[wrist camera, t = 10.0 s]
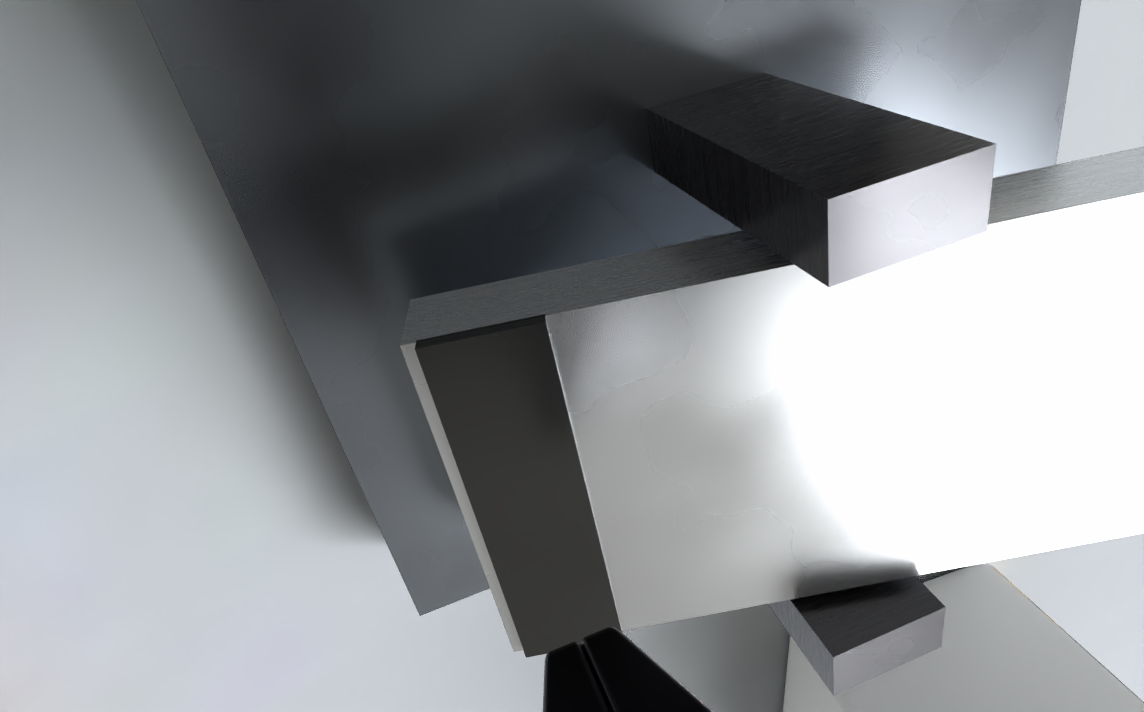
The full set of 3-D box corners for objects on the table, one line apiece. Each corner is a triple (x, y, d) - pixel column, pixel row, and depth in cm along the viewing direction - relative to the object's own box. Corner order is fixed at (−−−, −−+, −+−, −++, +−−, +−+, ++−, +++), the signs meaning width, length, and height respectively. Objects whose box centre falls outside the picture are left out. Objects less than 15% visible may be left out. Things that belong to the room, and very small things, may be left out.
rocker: (1240, 126, 10) (1336, 159, 9) (1143, 472, 13) (1204, 530, 12) (410, 299, 10) (397, 352, 9) (513, 593, 14) (514, 659, 12)
